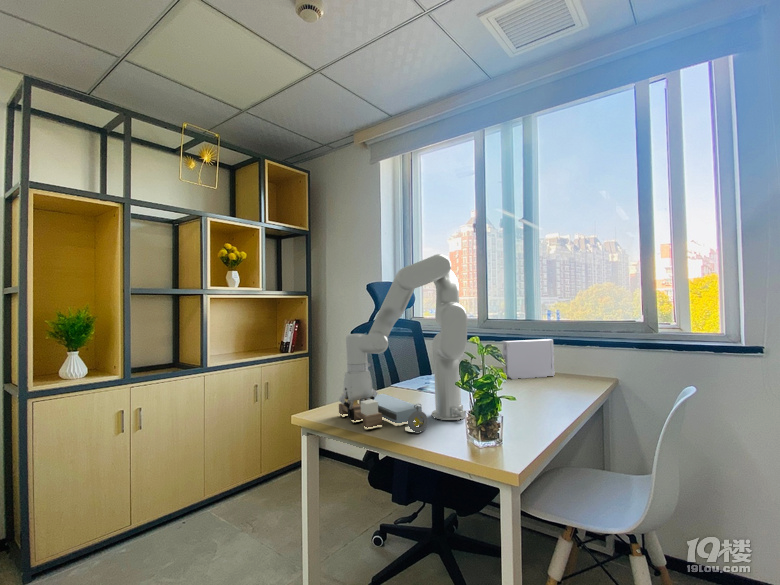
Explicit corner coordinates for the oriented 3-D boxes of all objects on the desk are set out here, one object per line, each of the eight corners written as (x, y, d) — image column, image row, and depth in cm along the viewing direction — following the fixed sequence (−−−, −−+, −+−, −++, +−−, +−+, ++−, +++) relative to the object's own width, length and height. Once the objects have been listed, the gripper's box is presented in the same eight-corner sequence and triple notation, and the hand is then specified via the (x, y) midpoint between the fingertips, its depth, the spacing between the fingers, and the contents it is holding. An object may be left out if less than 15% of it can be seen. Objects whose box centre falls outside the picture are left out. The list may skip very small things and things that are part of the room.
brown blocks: (382, 426, 132) (382, 413, 132) (367, 430, 128) (367, 417, 129) (353, 412, 150) (352, 401, 150) (339, 415, 147) (338, 403, 147)
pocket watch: (412, 426, 133) (411, 397, 133) (432, 431, 128) (431, 400, 128) (397, 433, 127) (396, 402, 127) (418, 438, 121) (417, 406, 122)
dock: (422, 420, 139) (421, 406, 139) (395, 427, 132) (395, 412, 132) (383, 405, 160) (383, 393, 161) (359, 410, 154) (359, 398, 154)
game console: (556, 376, 208) (554, 339, 208) (508, 379, 204) (507, 342, 204) (550, 374, 213) (548, 338, 214) (503, 377, 210) (502, 341, 210)
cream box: (378, 413, 132) (377, 401, 133) (367, 415, 130) (366, 403, 130) (371, 410, 136) (371, 399, 136) (360, 412, 134) (360, 401, 134)
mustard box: (357, 404, 145) (357, 393, 145) (347, 406, 143) (346, 395, 143) (352, 402, 149) (351, 391, 149) (342, 404, 146) (341, 393, 146)
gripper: (372, 363, 148) (374, 410, 147) (331, 369, 138) (333, 419, 138) (383, 365, 141) (385, 415, 141) (340, 372, 132) (342, 425, 131)
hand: (359, 416), depth 139 cm, fingers closed on brown blocks, 6 cm apart
